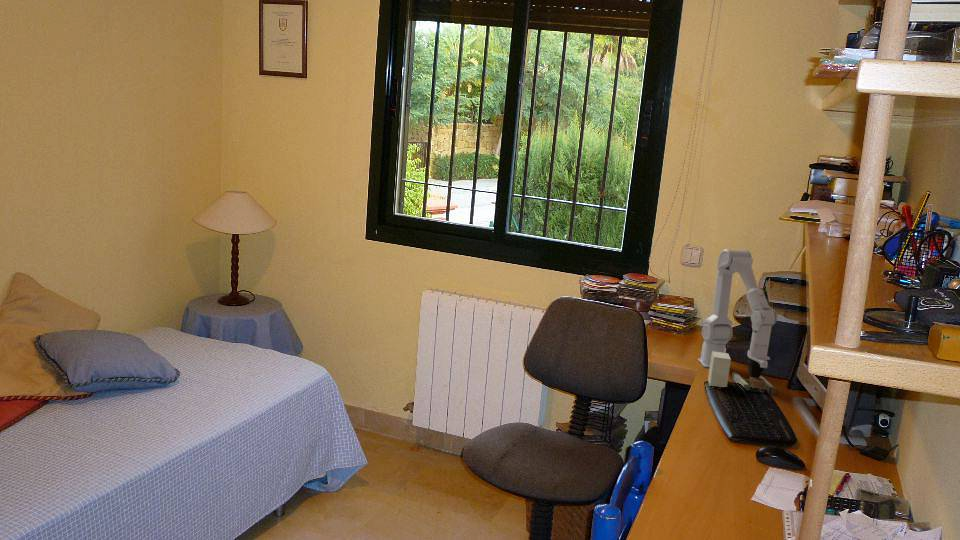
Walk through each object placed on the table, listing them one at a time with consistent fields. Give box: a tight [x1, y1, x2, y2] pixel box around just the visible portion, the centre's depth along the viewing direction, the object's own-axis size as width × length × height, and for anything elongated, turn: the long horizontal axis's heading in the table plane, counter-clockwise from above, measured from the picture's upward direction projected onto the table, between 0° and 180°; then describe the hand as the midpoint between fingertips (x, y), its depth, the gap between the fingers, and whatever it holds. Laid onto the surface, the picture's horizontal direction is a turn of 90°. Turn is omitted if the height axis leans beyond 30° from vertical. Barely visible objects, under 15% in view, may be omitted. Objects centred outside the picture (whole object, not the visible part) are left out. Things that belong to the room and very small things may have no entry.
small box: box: [707, 351, 732, 388], centre depth 269 cm, size 8×6×10 cm
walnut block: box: [748, 377, 766, 391], centre depth 269 cm, size 4×4×4 cm
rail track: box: [731, 372, 777, 396], centre depth 272 cm, size 15×10×2 cm, turn 0°
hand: (753, 382), depth 272 cm, fingers closed
